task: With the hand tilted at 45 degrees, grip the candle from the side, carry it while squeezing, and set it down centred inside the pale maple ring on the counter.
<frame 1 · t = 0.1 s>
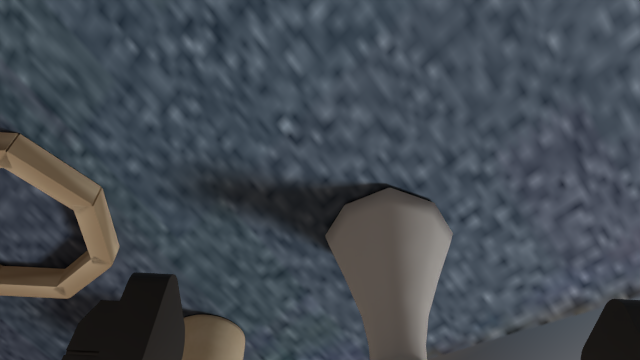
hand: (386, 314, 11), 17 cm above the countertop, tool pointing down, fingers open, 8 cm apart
flask: (387, 229, 34), on the countertop
maple ring: (9, 213, 34), on the countertop
candle: (209, 332, 42), on the countertop
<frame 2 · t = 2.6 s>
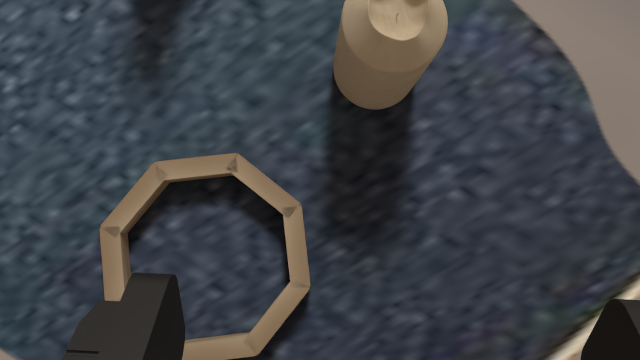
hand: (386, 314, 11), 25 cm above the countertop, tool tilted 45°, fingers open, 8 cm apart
maple ring: (209, 256, 36), on the countertop
candle: (373, 71, 37), on the countertop
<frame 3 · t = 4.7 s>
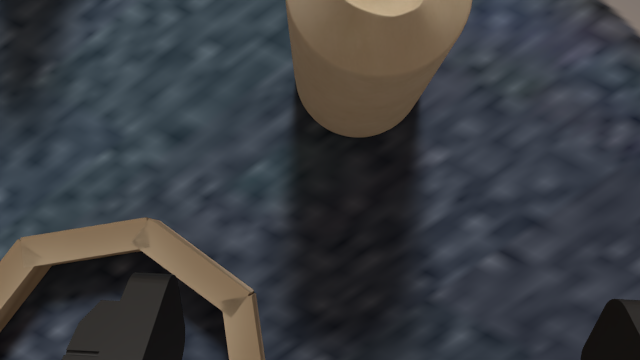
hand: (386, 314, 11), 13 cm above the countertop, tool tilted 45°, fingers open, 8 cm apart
candle: (357, 79, 25), on the countertop
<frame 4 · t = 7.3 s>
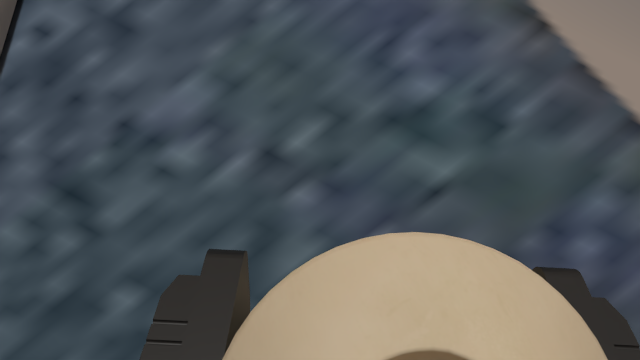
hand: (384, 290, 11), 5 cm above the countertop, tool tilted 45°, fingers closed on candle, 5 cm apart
candle: (361, 344, 16), on the countertop, touching gripper
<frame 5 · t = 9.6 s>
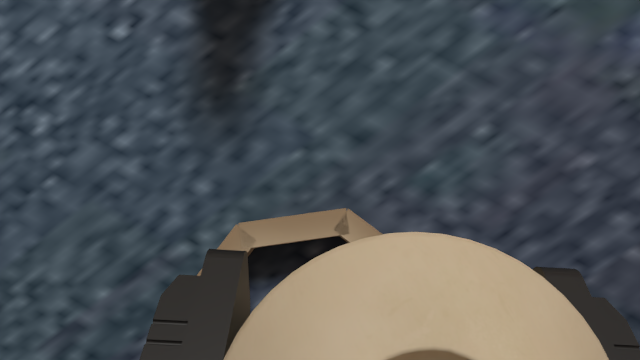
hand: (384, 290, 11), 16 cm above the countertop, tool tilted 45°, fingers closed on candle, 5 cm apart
maple ring: (311, 347, 27), on the countertop
candle: (362, 344, 16), point 11 cm above the countertop, touching gripper
when the fingers open (6 cm above the countertop, at t = 12.2 s): candle drops 1 cm, resting in maple ring.
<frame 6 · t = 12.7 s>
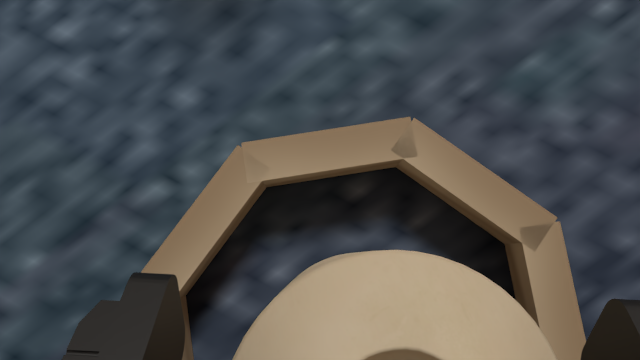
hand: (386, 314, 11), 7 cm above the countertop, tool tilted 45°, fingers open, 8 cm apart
maple ring: (357, 337, 17), on the countertop
candle: (357, 343, 17), resting in maple ring
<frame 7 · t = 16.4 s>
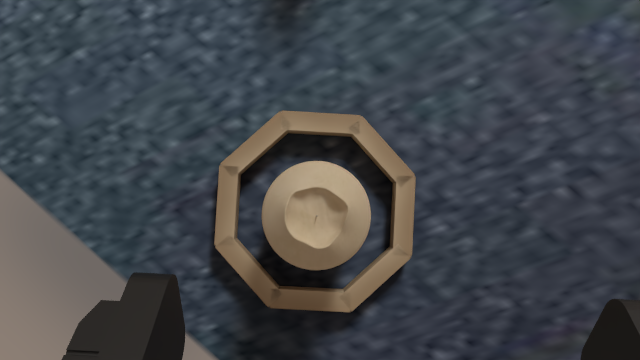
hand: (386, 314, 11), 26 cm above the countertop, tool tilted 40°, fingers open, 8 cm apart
maple ring: (315, 210, 37), on the countertop
candle: (314, 213, 37), resting in maple ring
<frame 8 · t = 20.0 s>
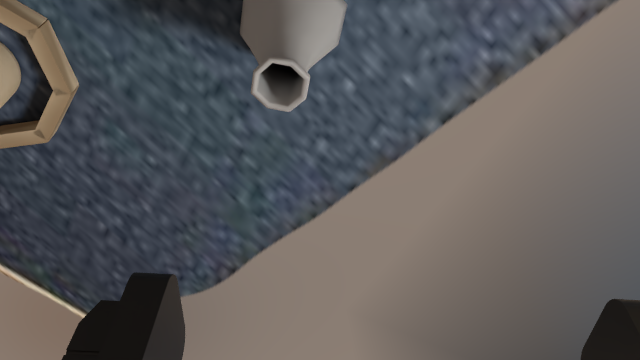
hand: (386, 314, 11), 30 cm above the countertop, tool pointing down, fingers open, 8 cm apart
flask: (292, 16, 38), on the countertop
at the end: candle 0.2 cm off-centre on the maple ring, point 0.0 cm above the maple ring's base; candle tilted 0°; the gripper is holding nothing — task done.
